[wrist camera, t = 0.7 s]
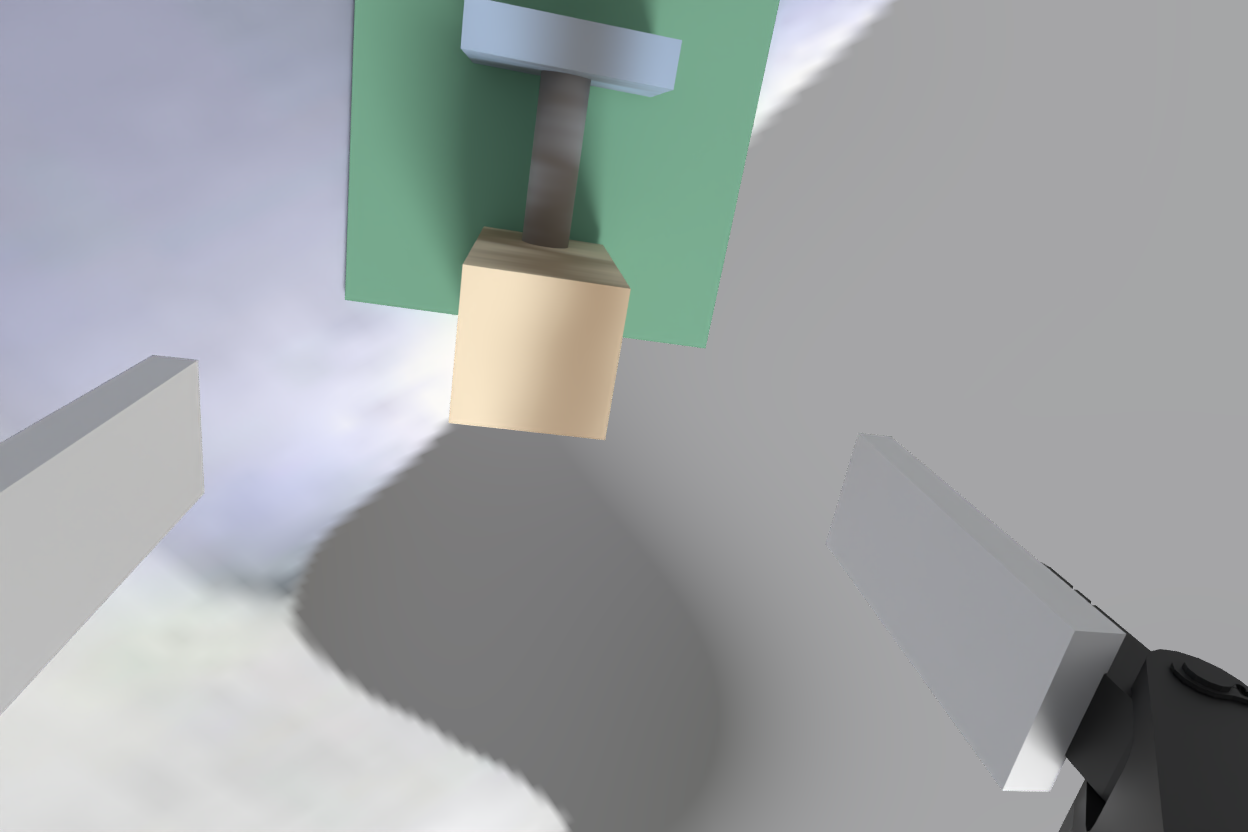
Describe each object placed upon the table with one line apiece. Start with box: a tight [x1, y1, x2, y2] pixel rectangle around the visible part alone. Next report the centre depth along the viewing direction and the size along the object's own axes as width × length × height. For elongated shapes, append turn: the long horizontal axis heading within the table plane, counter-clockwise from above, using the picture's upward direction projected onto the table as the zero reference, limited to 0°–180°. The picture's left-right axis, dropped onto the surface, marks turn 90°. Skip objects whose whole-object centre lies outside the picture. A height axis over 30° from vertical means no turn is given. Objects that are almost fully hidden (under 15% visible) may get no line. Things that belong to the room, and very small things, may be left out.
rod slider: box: [449, 0, 682, 440], centre depth 25 cm, size 7×12×10 cm, turn 170°
